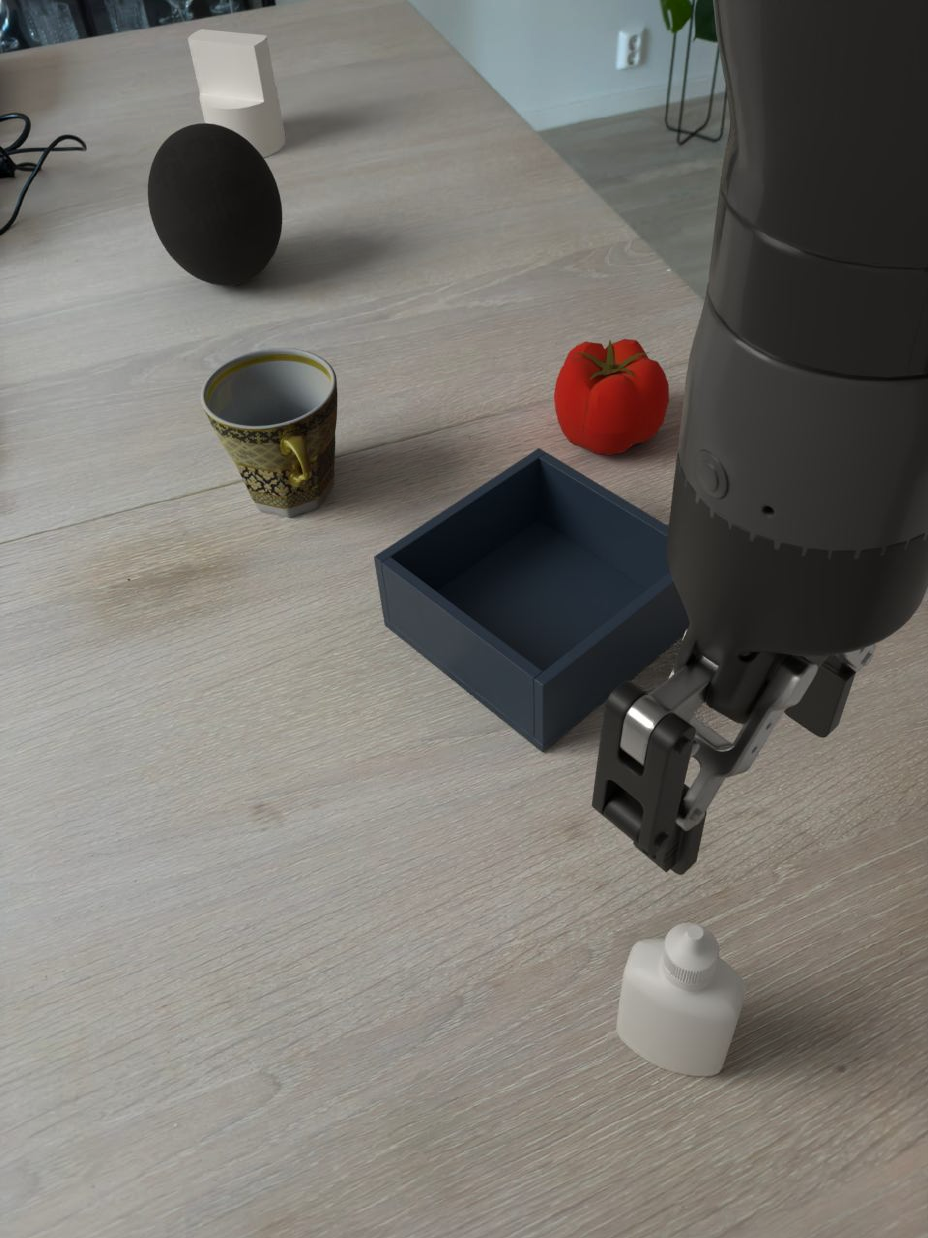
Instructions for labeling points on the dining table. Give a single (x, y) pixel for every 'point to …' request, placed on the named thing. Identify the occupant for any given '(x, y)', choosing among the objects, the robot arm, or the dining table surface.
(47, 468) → the dining table surface
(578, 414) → the tomato
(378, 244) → the dining table surface
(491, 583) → the bin
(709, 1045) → the eye dropper bottle
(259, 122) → the base with upright slab
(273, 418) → the ceramic cup
